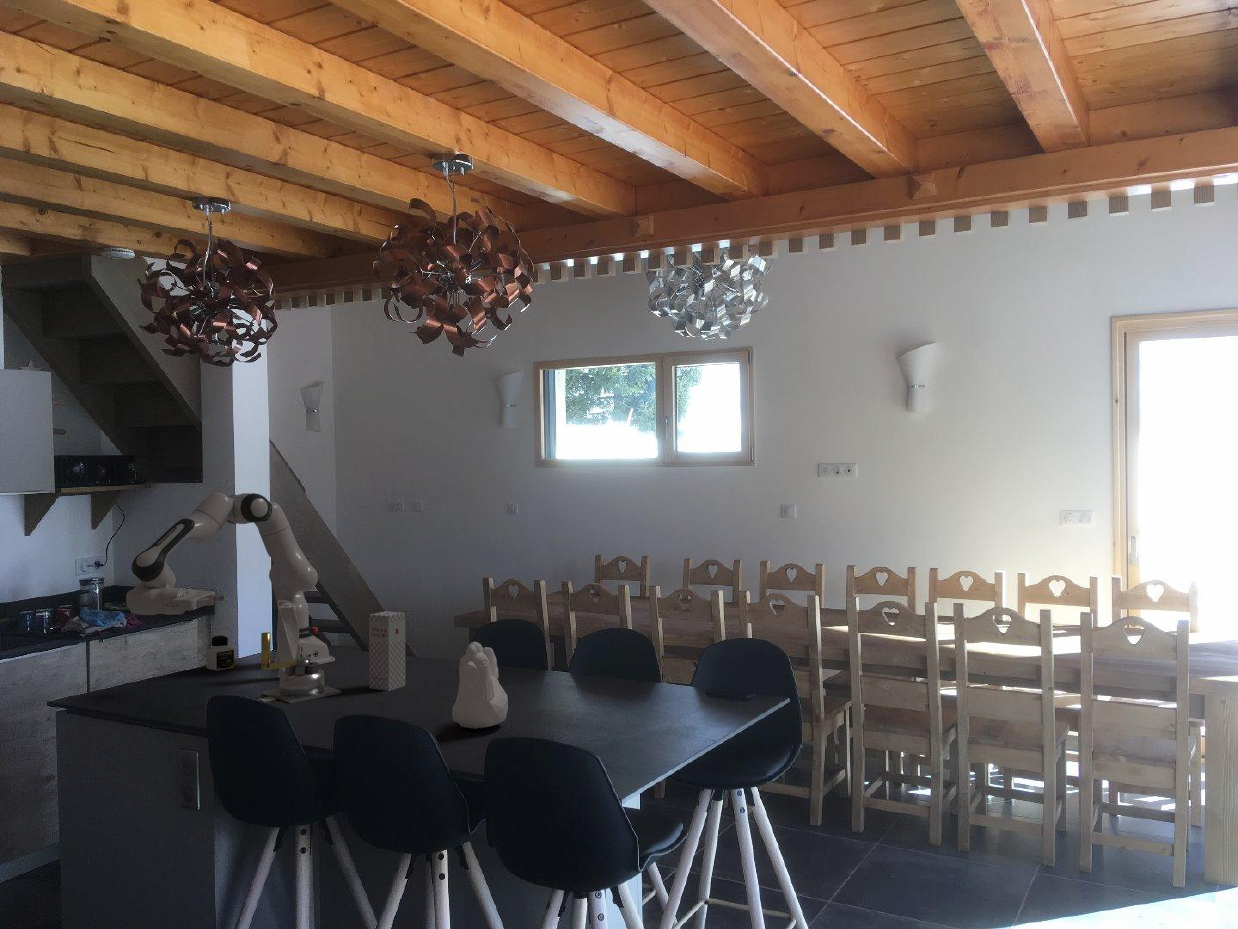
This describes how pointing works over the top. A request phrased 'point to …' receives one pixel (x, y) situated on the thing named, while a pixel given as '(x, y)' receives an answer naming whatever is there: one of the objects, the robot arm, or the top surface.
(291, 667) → the crank handle
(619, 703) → the top surface
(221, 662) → the medicine bottle
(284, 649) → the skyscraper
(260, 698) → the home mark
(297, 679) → the metal pedestal base
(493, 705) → the white figurine
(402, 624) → the box
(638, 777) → the top surface
